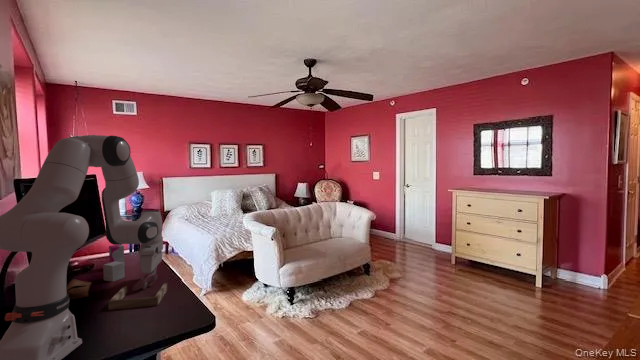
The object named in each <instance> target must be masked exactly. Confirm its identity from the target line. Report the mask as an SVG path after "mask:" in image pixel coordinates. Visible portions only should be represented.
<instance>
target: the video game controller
mask: <svg viewBox="0 0 640 360" xmlns="http://www.w3.org/2000/svg"><path fill="white" fill-rule="evenodd" d="M158 277H159V275H158V274H157V273H156V274H153V273H152V274H149V273H146V274H144V276H143V277H141V279H139V280H138V281H137V282H136V283H134V285H133V286H132V291H133V292H135V291H139V290H141V289H142V290H145V289H147V288H148V287H152V285H153V284H154V283H155V282H156V281H157V280H158V279H159V278H158Z"/></svg>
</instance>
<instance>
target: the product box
mask: <svg viewBox="0 0 640 360" xmlns="http://www.w3.org/2000/svg"><path fill="white" fill-rule="evenodd" d="M102 271H103V280H104V281H106V282H116V281H119V280H121V279H124V278H125V268H124V262H117V261H114V262H111V263H110V262H108V263H104V264H103V270H102Z"/></svg>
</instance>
